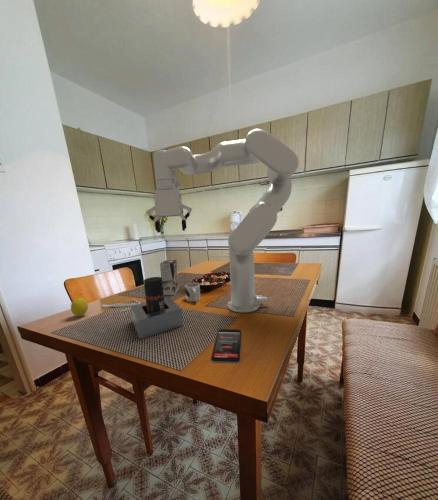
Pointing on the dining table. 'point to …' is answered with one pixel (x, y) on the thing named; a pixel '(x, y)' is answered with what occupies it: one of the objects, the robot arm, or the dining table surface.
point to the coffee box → (169, 277)
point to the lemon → (79, 306)
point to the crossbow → (120, 305)
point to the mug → (192, 292)
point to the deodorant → (154, 294)
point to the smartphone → (227, 346)
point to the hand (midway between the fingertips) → (171, 231)
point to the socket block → (156, 318)
